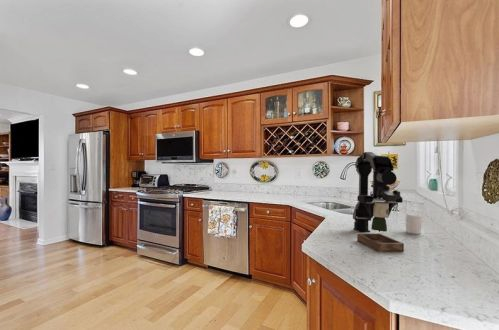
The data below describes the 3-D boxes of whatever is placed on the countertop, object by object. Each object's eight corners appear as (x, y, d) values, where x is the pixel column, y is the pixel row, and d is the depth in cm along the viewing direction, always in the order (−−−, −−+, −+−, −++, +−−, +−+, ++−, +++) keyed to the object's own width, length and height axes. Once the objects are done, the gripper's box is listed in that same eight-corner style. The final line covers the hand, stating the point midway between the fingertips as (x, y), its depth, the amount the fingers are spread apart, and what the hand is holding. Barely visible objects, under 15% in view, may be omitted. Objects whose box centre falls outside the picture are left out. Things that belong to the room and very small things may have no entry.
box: (379, 240, 119) (379, 233, 119) (403, 251, 104) (403, 243, 104) (357, 240, 118) (357, 233, 118) (378, 252, 102) (378, 243, 102)
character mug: (390, 235, 105) (391, 204, 105) (372, 233, 107) (372, 203, 107) (385, 229, 115) (386, 201, 115) (368, 227, 117) (369, 200, 117)
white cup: (401, 230, 139) (401, 213, 139) (412, 230, 141) (413, 213, 141) (413, 234, 132) (414, 216, 132) (425, 234, 134) (425, 215, 134)
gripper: (372, 184, 102) (371, 222, 102) (412, 185, 104) (411, 221, 104) (356, 182, 113) (356, 216, 113) (393, 183, 115) (393, 216, 115)
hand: (379, 217), depth 111 cm, fingers closed on character mug, 7 cm apart
